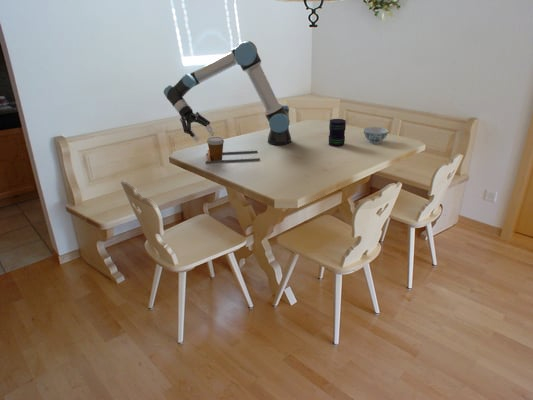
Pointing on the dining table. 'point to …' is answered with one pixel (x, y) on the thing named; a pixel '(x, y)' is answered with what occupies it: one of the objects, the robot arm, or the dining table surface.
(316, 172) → the dining table surface
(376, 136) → the chinaware
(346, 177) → the dining table surface
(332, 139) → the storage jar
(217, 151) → the disposable coffee cup
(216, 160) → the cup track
